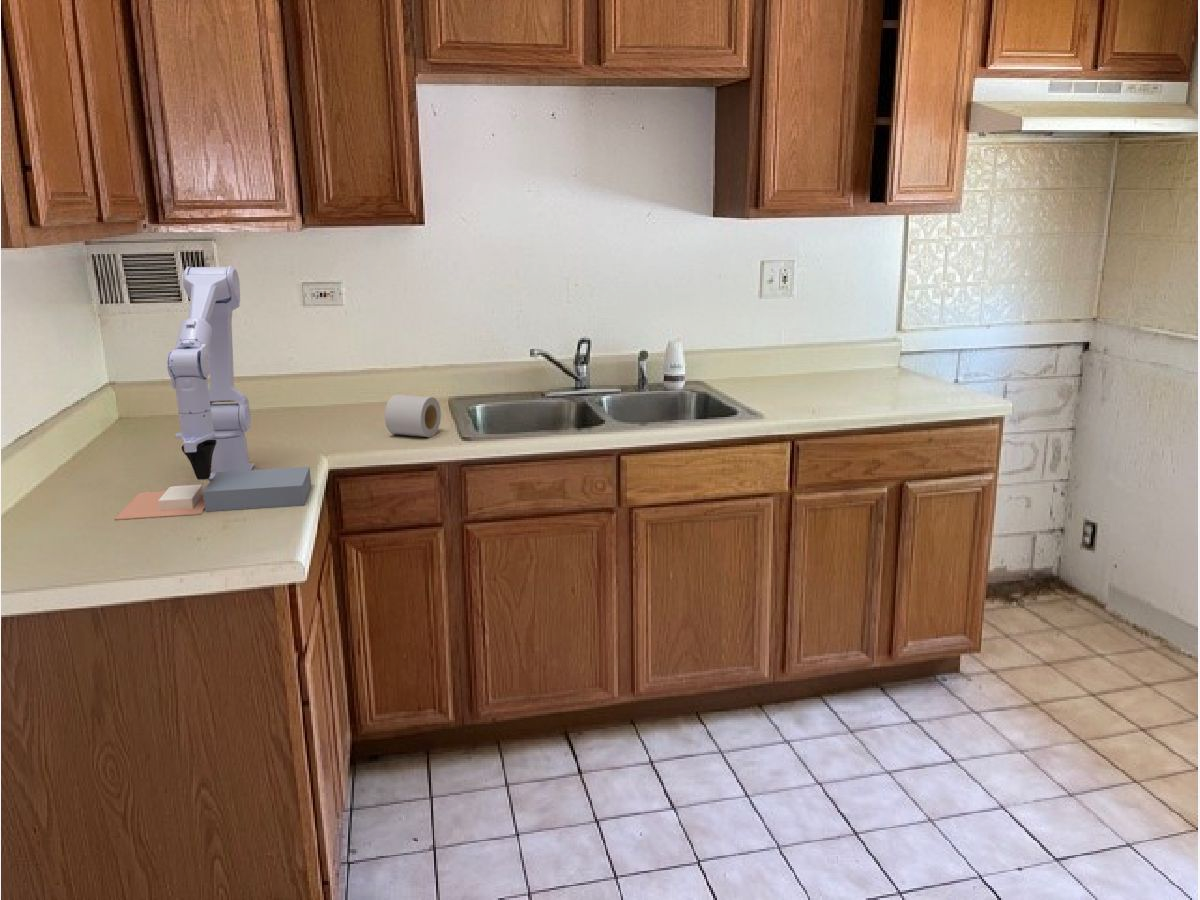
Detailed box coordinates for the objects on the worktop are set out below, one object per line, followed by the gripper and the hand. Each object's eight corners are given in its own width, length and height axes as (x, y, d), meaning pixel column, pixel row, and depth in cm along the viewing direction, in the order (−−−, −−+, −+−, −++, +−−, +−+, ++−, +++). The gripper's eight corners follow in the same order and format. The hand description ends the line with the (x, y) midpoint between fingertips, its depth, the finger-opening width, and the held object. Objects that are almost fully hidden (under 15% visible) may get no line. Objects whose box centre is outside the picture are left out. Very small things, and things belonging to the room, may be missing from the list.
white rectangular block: (202, 484, 180) (203, 494, 180) (170, 486, 179) (171, 496, 179) (191, 498, 171) (193, 508, 172) (157, 500, 170) (159, 510, 171)
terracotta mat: (140, 493, 181) (139, 492, 181) (218, 488, 184) (218, 487, 184) (115, 520, 166) (114, 519, 166) (201, 514, 169) (200, 513, 169)
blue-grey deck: (219, 490, 183) (217, 472, 182) (311, 485, 186) (309, 466, 185) (205, 511, 171) (202, 491, 169) (304, 505, 174) (302, 485, 173)
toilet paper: (386, 438, 223) (383, 399, 220) (407, 428, 232) (404, 391, 230) (422, 441, 220) (419, 401, 217) (441, 431, 229) (439, 393, 226)
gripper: (181, 403, 178) (190, 469, 181) (162, 420, 164) (172, 491, 168) (219, 401, 179) (227, 467, 183) (203, 418, 165) (212, 488, 169)
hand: (203, 478), depth 175 cm, fingers closed
